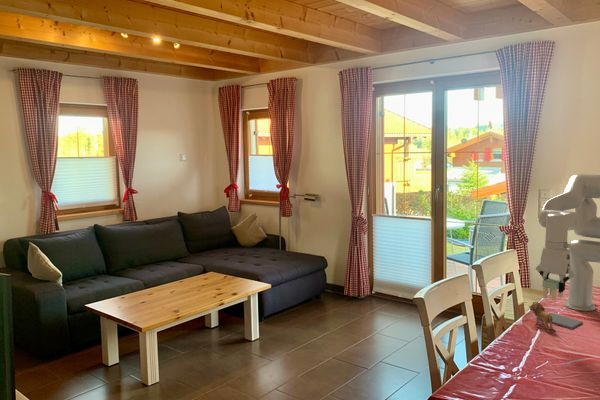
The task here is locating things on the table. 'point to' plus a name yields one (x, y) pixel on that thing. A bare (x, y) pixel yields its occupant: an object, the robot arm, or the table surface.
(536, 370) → the table surface
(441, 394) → the table surface
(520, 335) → the table surface
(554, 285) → the sage stool
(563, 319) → the charcoal mat
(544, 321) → the lion figurine
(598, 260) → the robot arm
